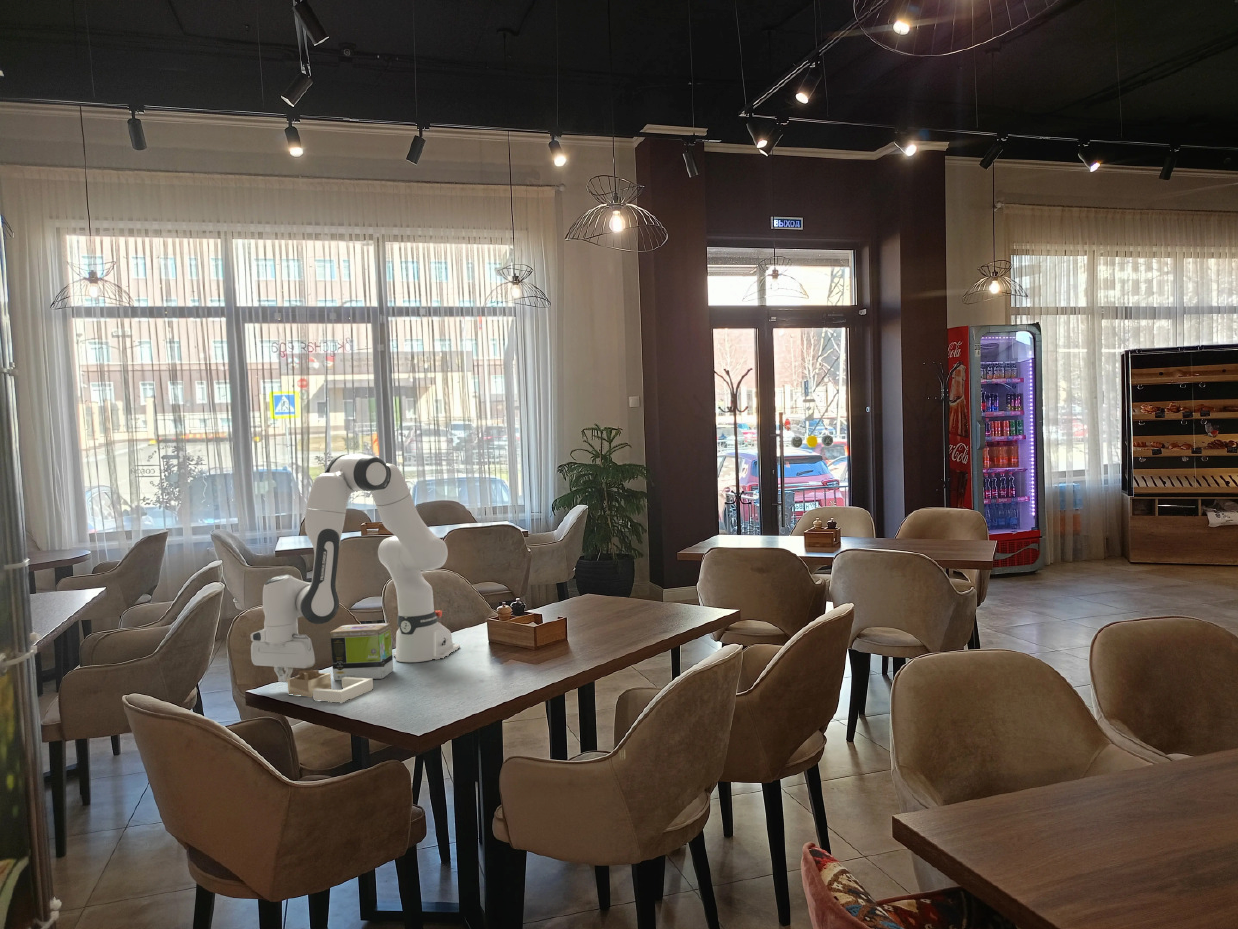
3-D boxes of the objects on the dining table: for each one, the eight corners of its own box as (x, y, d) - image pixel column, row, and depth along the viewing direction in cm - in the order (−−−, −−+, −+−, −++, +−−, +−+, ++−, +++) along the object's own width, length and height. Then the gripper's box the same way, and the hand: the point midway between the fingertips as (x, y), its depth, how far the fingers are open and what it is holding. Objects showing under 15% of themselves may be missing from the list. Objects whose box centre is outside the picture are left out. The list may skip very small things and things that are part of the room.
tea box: (394, 670, 261) (391, 622, 261) (381, 680, 251) (378, 629, 251) (346, 672, 262) (343, 623, 262) (332, 681, 252) (329, 631, 252)
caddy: (309, 687, 247) (307, 665, 247) (331, 689, 244) (330, 667, 244) (288, 695, 239) (287, 673, 239) (311, 697, 236) (309, 675, 236)
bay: (345, 687, 245) (345, 676, 245) (373, 689, 241) (372, 678, 241) (313, 701, 233) (312, 690, 233) (341, 703, 229) (341, 692, 229)
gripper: (318, 632, 243) (321, 680, 244) (262, 629, 251) (265, 676, 252) (302, 637, 238) (305, 687, 238) (245, 634, 245) (248, 683, 246)
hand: (284, 681), depth 245 cm, fingers closed
